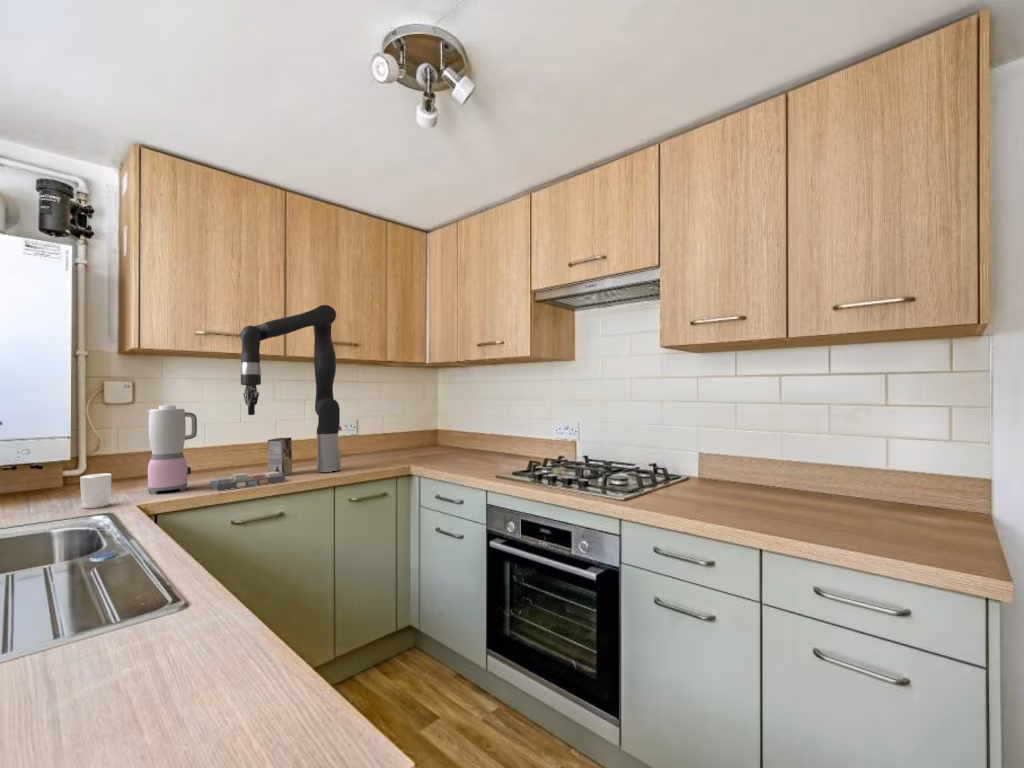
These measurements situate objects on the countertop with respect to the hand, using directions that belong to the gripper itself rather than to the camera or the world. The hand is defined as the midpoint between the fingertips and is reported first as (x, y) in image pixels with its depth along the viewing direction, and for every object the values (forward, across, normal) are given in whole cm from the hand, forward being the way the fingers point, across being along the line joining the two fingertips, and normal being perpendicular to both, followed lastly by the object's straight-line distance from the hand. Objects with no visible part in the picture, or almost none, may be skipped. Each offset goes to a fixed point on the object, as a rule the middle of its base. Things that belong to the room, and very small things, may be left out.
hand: (251, 414), depth 206 cm
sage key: (+26, -13, +8) cm, 30 cm away
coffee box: (+27, +2, -12) cm, 30 cm away
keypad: (+27, -12, +5) cm, 30 cm away
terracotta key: (+27, -13, +2) cm, 29 cm away
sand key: (+27, -13, -4) cm, 30 cm away
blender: (+27, -2, +28) cm, 39 cm away
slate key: (+26, -13, +14) cm, 32 cm away
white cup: (+27, -14, +51) cm, 59 cm away
